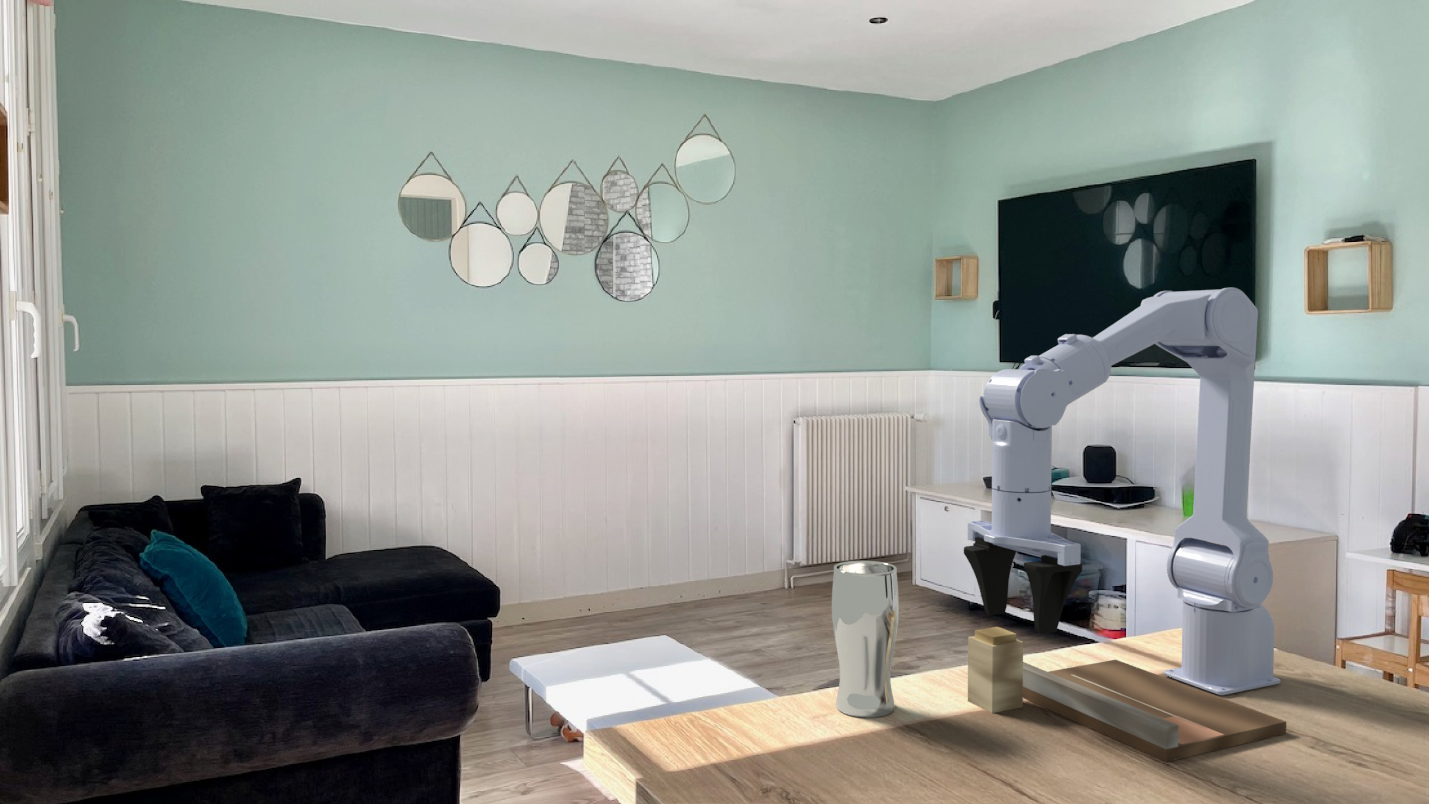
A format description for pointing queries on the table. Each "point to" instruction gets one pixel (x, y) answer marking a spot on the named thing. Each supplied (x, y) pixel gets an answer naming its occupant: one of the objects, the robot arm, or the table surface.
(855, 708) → the beer glass
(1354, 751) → the table surface
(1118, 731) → the board
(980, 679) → the tan block
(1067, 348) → the robot arm
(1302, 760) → the table surface
